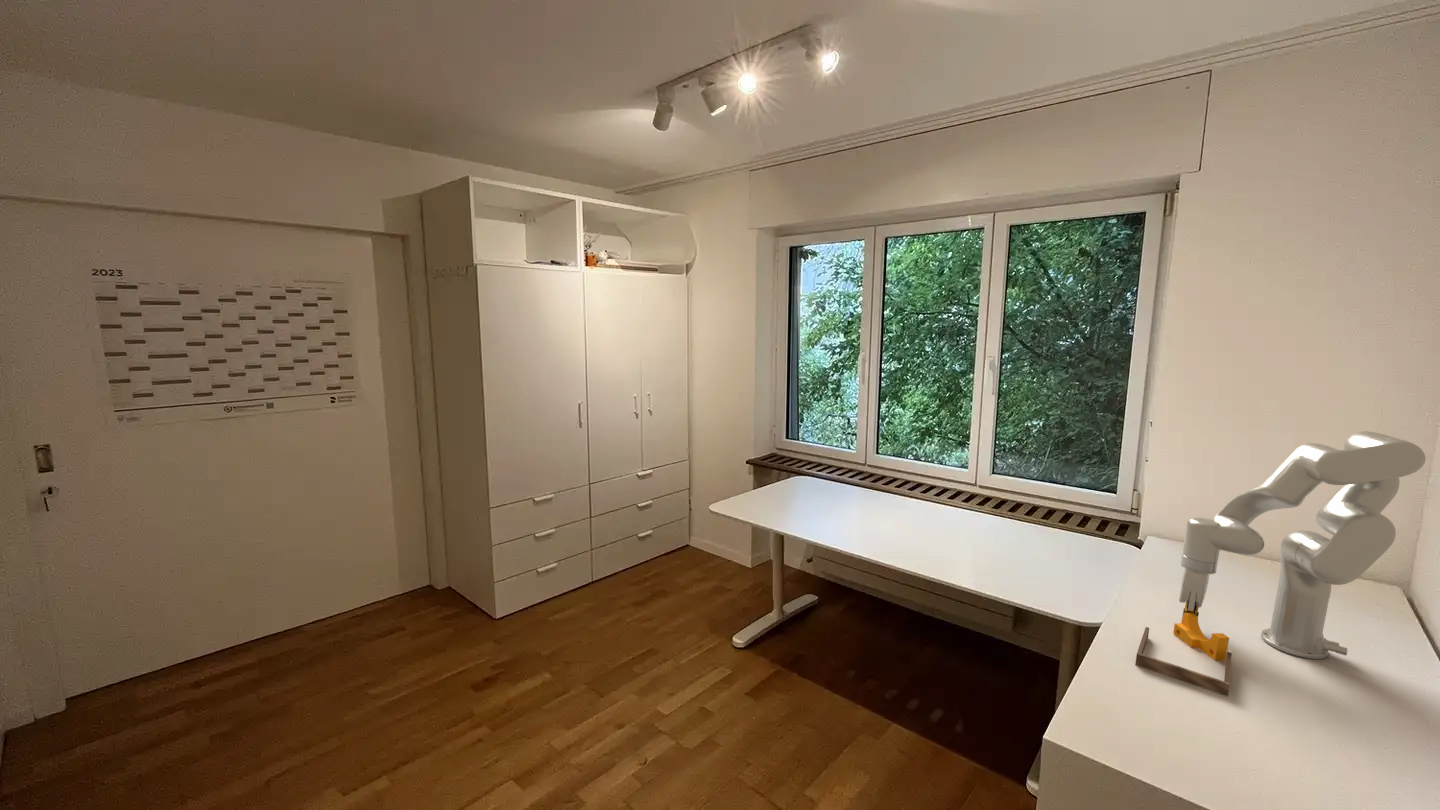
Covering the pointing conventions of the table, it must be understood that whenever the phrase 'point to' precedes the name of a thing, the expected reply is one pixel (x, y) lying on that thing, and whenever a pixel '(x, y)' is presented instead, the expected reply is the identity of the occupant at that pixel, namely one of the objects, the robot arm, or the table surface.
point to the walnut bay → (1184, 670)
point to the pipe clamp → (1201, 637)
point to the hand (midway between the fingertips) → (1189, 624)
